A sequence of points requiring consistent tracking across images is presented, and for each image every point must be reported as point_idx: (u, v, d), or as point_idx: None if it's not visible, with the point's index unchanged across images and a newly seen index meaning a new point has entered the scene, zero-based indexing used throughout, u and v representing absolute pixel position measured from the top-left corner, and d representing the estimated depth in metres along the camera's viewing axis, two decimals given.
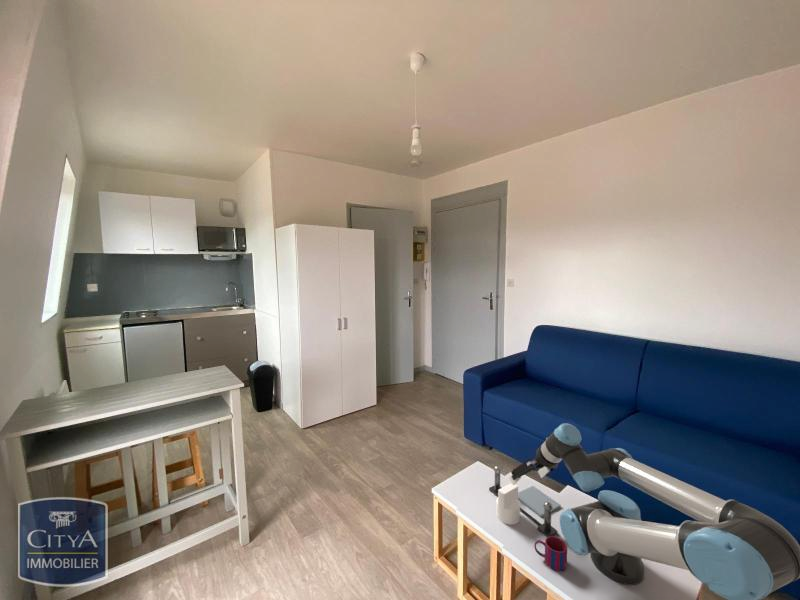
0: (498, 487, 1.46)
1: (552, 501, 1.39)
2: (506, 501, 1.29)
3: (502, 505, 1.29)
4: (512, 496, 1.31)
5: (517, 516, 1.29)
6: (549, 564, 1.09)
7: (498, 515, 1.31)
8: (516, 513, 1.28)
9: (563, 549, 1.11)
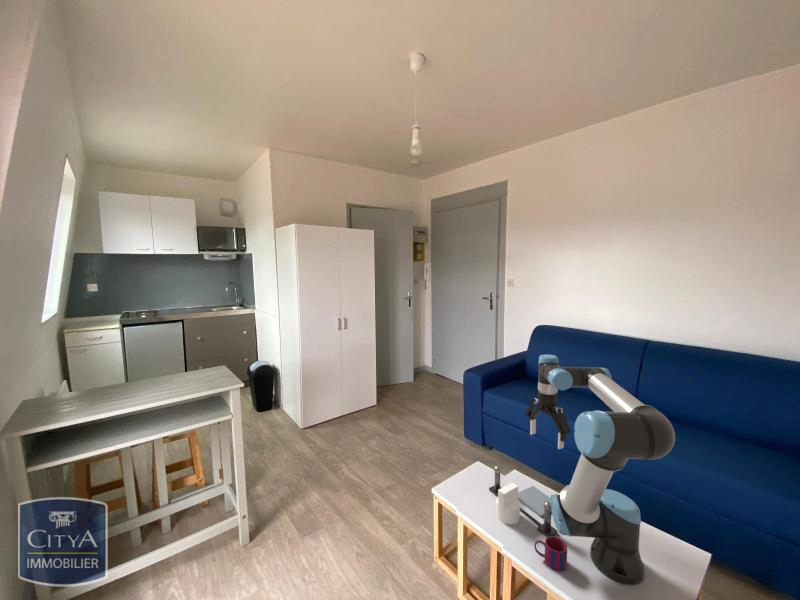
0: (498, 487, 1.46)
1: None
2: (506, 501, 1.29)
3: (502, 505, 1.29)
4: (512, 496, 1.31)
5: (517, 516, 1.29)
6: (549, 564, 1.09)
7: (498, 515, 1.31)
8: (516, 513, 1.28)
9: (563, 549, 1.11)
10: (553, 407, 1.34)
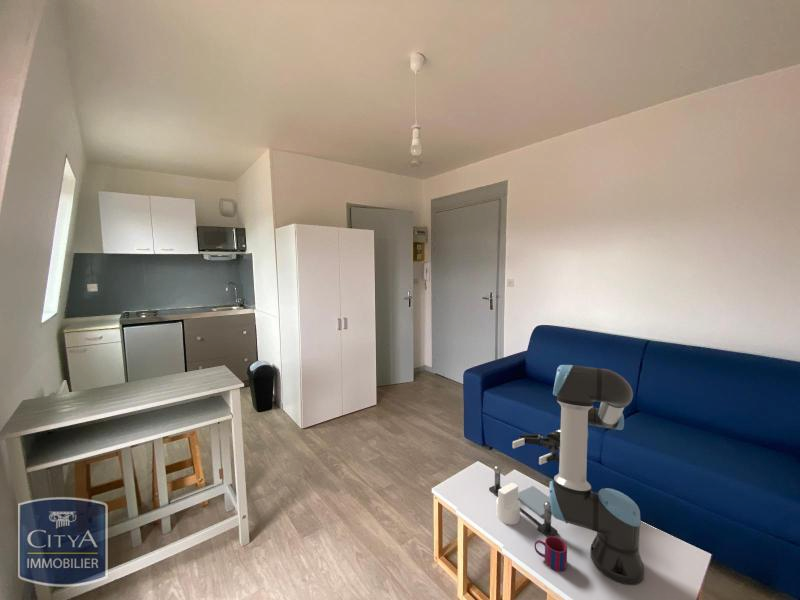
0: (498, 487, 1.46)
1: None
2: (506, 501, 1.29)
3: (502, 505, 1.29)
4: (512, 496, 1.31)
5: (517, 516, 1.29)
6: (549, 564, 1.09)
7: (498, 515, 1.31)
8: (516, 513, 1.28)
9: (563, 549, 1.11)
10: (559, 444, 1.39)
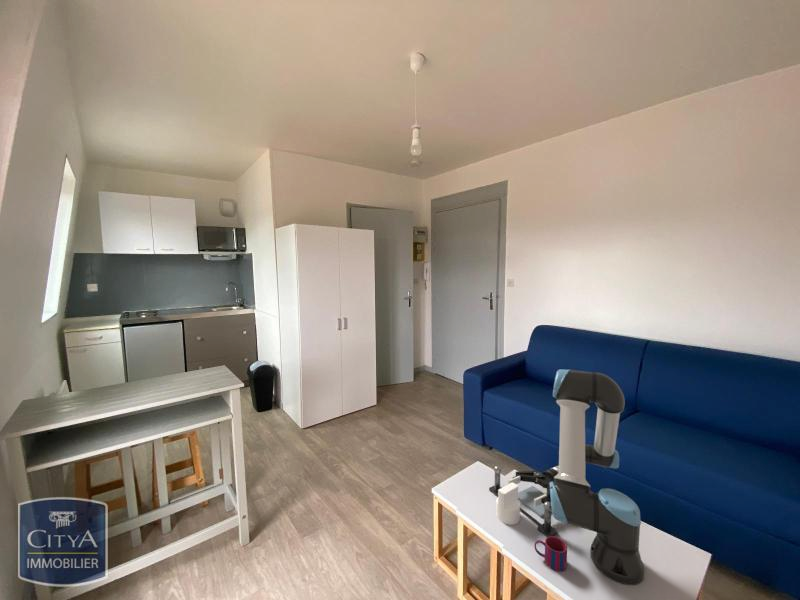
0: (498, 487, 1.46)
1: None
2: (506, 501, 1.29)
3: (502, 505, 1.29)
4: (512, 496, 1.31)
5: (517, 516, 1.29)
6: (549, 564, 1.09)
7: (498, 515, 1.31)
8: (516, 513, 1.28)
9: (563, 549, 1.11)
10: None
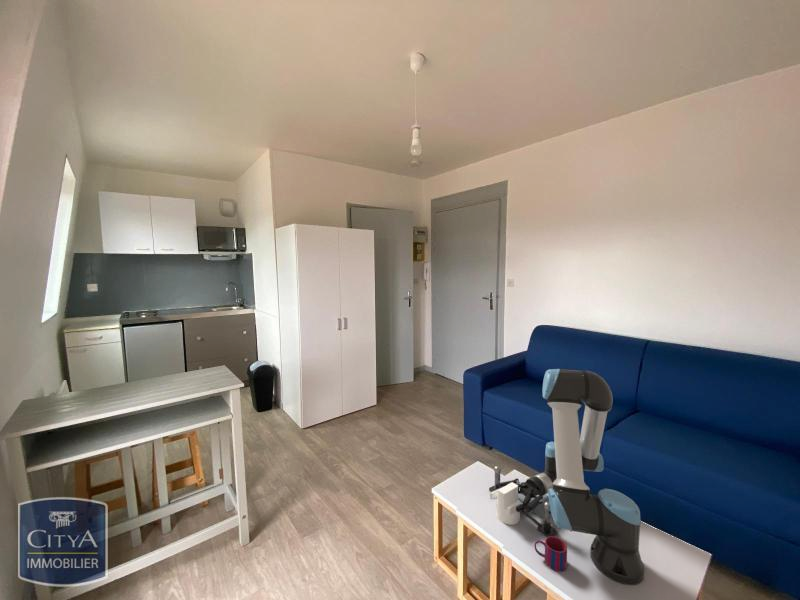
0: (498, 487, 1.46)
1: None
2: (506, 501, 1.29)
3: (502, 505, 1.29)
4: (512, 496, 1.31)
5: (517, 516, 1.29)
6: (549, 564, 1.09)
7: (498, 515, 1.31)
8: (516, 513, 1.28)
9: (563, 549, 1.11)
10: (537, 492, 1.34)
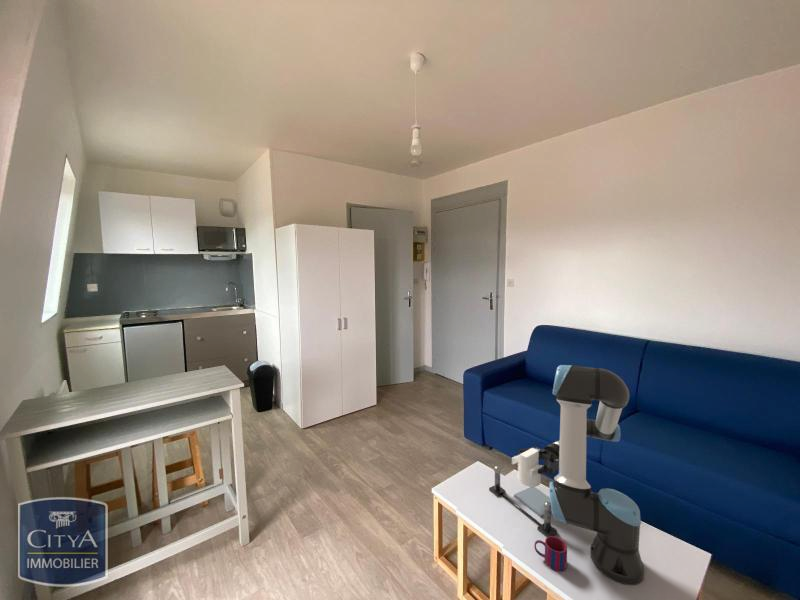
0: (498, 487, 1.46)
1: None
2: (528, 465, 1.34)
3: (524, 468, 1.34)
4: (533, 460, 1.36)
5: (538, 478, 1.34)
6: (549, 564, 1.09)
7: (520, 478, 1.36)
8: (538, 475, 1.33)
9: (563, 549, 1.11)
10: (556, 457, 1.40)
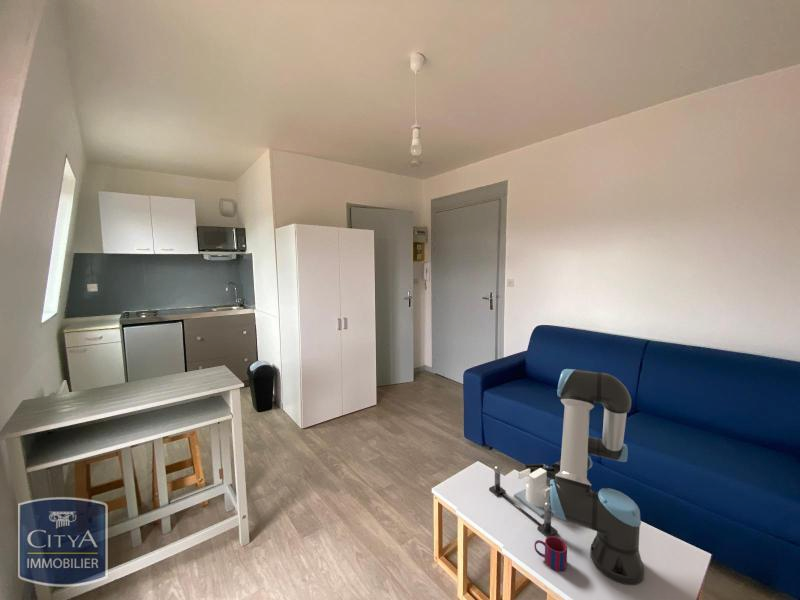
0: (498, 487, 1.46)
1: None
2: (536, 485, 1.37)
3: (532, 489, 1.37)
4: (541, 480, 1.39)
5: (547, 499, 1.36)
6: (549, 564, 1.09)
7: (528, 498, 1.39)
8: None
9: (563, 549, 1.11)
10: None
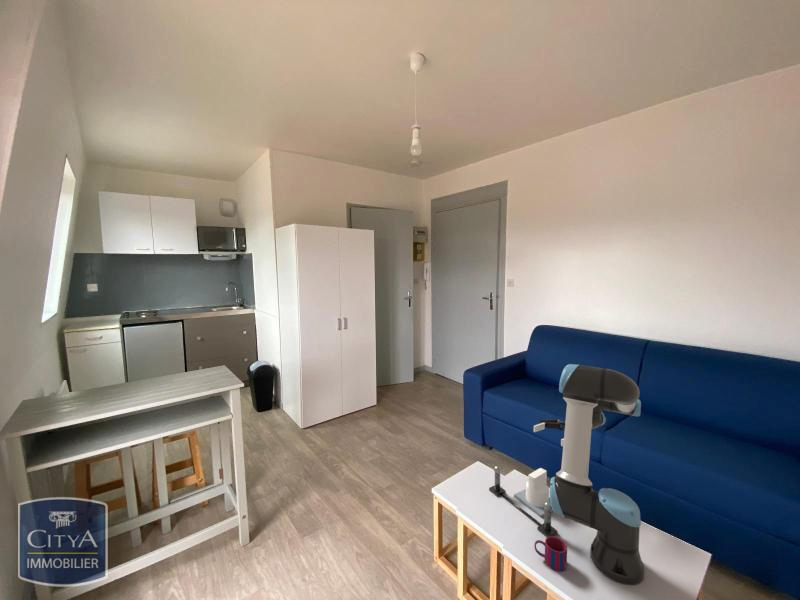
0: (498, 487, 1.46)
1: None
2: (536, 485, 1.37)
3: (532, 489, 1.37)
4: (541, 480, 1.39)
5: (547, 499, 1.36)
6: (549, 564, 1.09)
7: (528, 498, 1.39)
8: (546, 496, 1.36)
9: (563, 549, 1.11)
10: None
